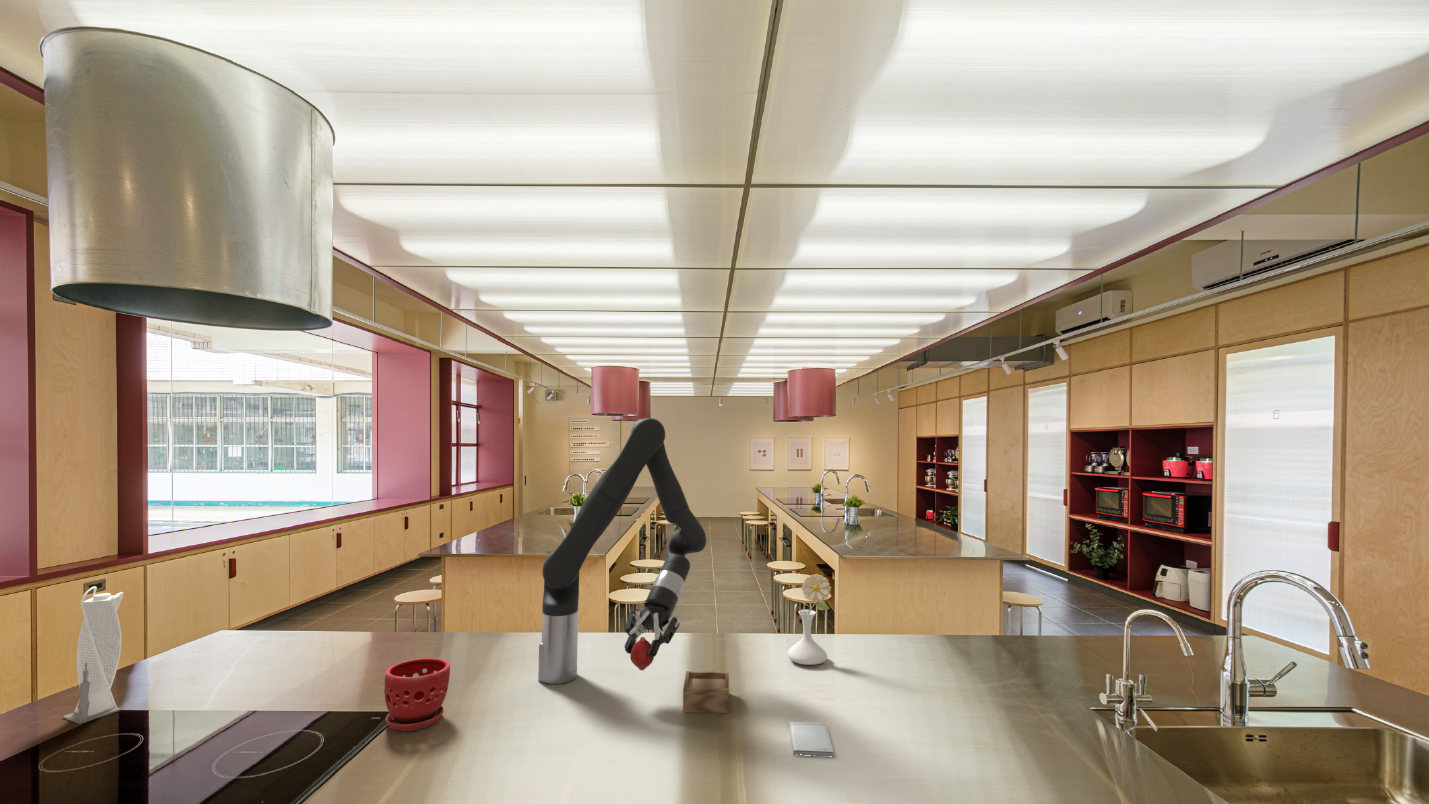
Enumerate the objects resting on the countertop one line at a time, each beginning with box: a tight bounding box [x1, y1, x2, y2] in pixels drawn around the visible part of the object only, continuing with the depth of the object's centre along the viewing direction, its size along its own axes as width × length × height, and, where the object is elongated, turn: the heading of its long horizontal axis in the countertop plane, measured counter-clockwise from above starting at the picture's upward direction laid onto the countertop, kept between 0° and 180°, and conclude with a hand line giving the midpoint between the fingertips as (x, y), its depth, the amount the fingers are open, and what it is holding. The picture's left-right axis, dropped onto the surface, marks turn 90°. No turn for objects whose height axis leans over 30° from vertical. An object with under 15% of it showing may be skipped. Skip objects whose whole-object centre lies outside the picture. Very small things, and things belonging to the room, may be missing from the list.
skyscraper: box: [62, 585, 125, 725], centre depth 138 cm, size 8×8×28 cm
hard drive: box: [788, 721, 835, 758], centre depth 127 cm, size 2×8×12 cm
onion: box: [629, 636, 655, 671], centre depth 146 cm, size 6×6×8 cm
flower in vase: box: [786, 573, 832, 666], centre depth 172 cm, size 13×11×25 cm
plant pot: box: [383, 657, 451, 732], centre depth 135 cm, size 13×13×12 cm
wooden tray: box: [682, 670, 730, 714], centre depth 145 cm, size 11×11×5 cm
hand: (638, 654), depth 144 cm, fingers closed on onion, 5 cm apart
